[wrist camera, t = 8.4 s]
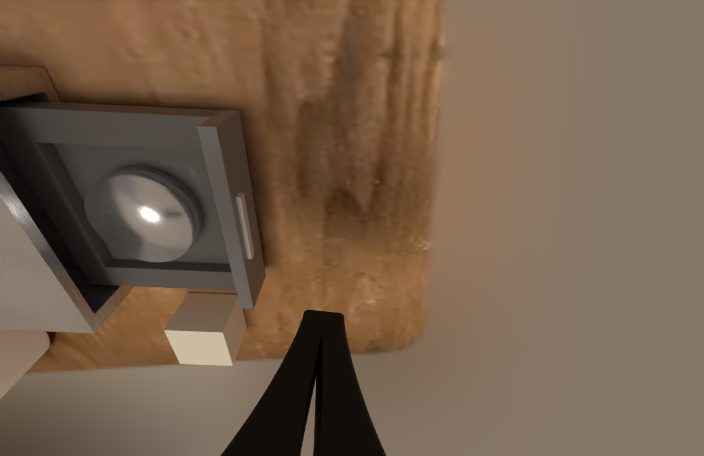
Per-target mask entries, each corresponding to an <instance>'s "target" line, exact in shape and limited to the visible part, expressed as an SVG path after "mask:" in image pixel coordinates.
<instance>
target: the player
mask: <svg viewBox="0 0 704 456" xmlns="http://www.w3.org/2000/svg"><path fill="white" fill-rule="evenodd" d="M8 100H26V101H46V102H61V101H60V99H59V97H58V95H57V93H56V90H55V88H54V86H53V84H52V82H51V80H50V78H49V75H48V73H47V71H46V69H45V67H27V66H7V65H0V102H3V101H8ZM134 287H135V286H118V285H94V284H90V283H89V281H88V279H87V278H86V276H85V274H84V273H83V271H82V269H81V268H80V266H79V265H78V263H77V261H76V260H75V258H74V256H73V255H72V253H71V251H70V250H69V248H68V247H67V245H66V243H65V242H64V240H63V238H62V237H61V235H60V233H59V232H58V230H57V229H56V227H55V225H54V224H53V222H52V220H51V219H50V217H49V216H48V214H47V212H46V211H45V209H44V207H43V206H42V204H41V202H40V201H39V199H38V198H37V196H36V194H35V193H34V191H33V189H32V188H31V186H30V184H29V183H28V181H27V180H26V178H25V176H24V175H23V173H22V171H21V170H20V168H19V166H18V165H17V163H16V162H15V160H14V158H13V157H12V155H11V153H10V152H9V150H8V148H7V147H6V145H5V144H4V142H3V140H2V139H1V137H0V330H24V331H50V332H76V333H95V332H96V331H97V330H98V329H99V327H100V326H101V325H102V324H103V323H104V322H105V320H106V319H107V318H108V317H109V316H110V315H111V313H112V312H113V311H114V310H115V309H116V308H117V306H118V305H119V304H120V303H121V302H122V301H123V299H124V298H125V297H126V296H127V295H128V294H129V292H130V291H131V290H132V289H133V288H134Z"/></svg>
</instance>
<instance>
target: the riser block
mask: <svg viewBox="0 0 704 456" xmlns="http://www.w3.org/2000/svg"><path fill="white" fill-rule="evenodd" d="M246 329H247V325H246V321H245V317H244V313H243V308H240V304H239V299H238V295H233V294H208V293H188V294H187V295H186V297H185V298H184V300H183V301H182V303H181V305H180V306H179V308H178V309H177V311H176V312H175V314H174V316H173V317H172V319H171V320H170V322H169V323H168V325H167V327H166V328H165V330H164V331H165V333H166V335H167V337H168V339H169V341H170V344H171V346H172V348H173V350H174V352H175V354H176V356H177V358H178V360H179V362H180V364H198V365H224V366H233V365H234V362H235V359H236V356H237V354H238V351H239V348H240V345H241V343H242V340H243V337H244V335H245V332H246Z"/></svg>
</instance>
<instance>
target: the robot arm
mask: <svg viewBox="0 0 704 456" xmlns="http://www.w3.org/2000/svg"><path fill="white" fill-rule="evenodd" d="M315 379H316V400H315V429H314V451H313V456H386V454H385V452H384V450H383V447H382V445H381V443H380V440H379V438H378V436H377V433H376V431H375V428H374V426H373V423H372V421H371V418H370V416H369V413H368V410H367V407H366V405H365V402H364V399H363V396H362V393H361V390H360V387H359V384H358V380H357V377H356V374H355V371H354V367H353V363H352V359H351V355H350V351H349V347H348V342H347V337H346V331H345V324H344V315H343V314H342V313H334V312H325V311H316V310H306V311H304V315H303V318H302V321H301V324H300V326H299V329H298V331H297V334H296V336H295V338H294V340H293V342H292V344H291V346H290V348H289V350H288V352H287V354H286V356H285V358H284V360H283V362H282V364H281V366H280V368H279V369H278V371H277V373H276V374H275V376H274V378H273V379H272V381H271V383H270V385H269V386H268V388H267V389H266V391H265V393H264V394H263V396H262V397H261V399H260V401H259V402H258V404H257V405H256V407H255V408H254V410H253V411H252V413H251V414H250V416H249V417H248V419H247V420H246V422H245V423H244V424H243V426H242V427H241V429H240V430H239V431H238V433H237V434H236V436H235V437H234V439H233V440H232V441H231V443H230V444H229V445H228V447H227V448H226V449H225V451H224V452H223V453H222V455H221V456H300V454H301V448H302V442H303V437H304V432H305V428H306V423H307V418H308V413H309V408H310V403H311V398H312V393H313V389H314V383H315Z"/></svg>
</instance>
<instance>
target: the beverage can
mask: <svg viewBox="0 0 704 456" xmlns="http://www.w3.org/2000/svg"><path fill="white" fill-rule="evenodd" d="M49 345H50V339H49V336H48V334H47V332H46V331H24V330H0V399H1V397H3V396H4V394H5V393H6V392H7V391H8V390H9V389H10V388H11V387H12V386H13V385H14V384H15V383H16V382H17V381H18V380H19V379H20V378H21V377H22V376H23V375H24V374H25V373H26V372H27V371H28V369H29V368H30V367H31V366H32V365H33V364H34V363H35V362H36V361H37V360H38V359H39V358H40V357H41V356H42V355H43V354H44V353H45V352H46V351H47V350H48V348H49Z"/></svg>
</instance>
